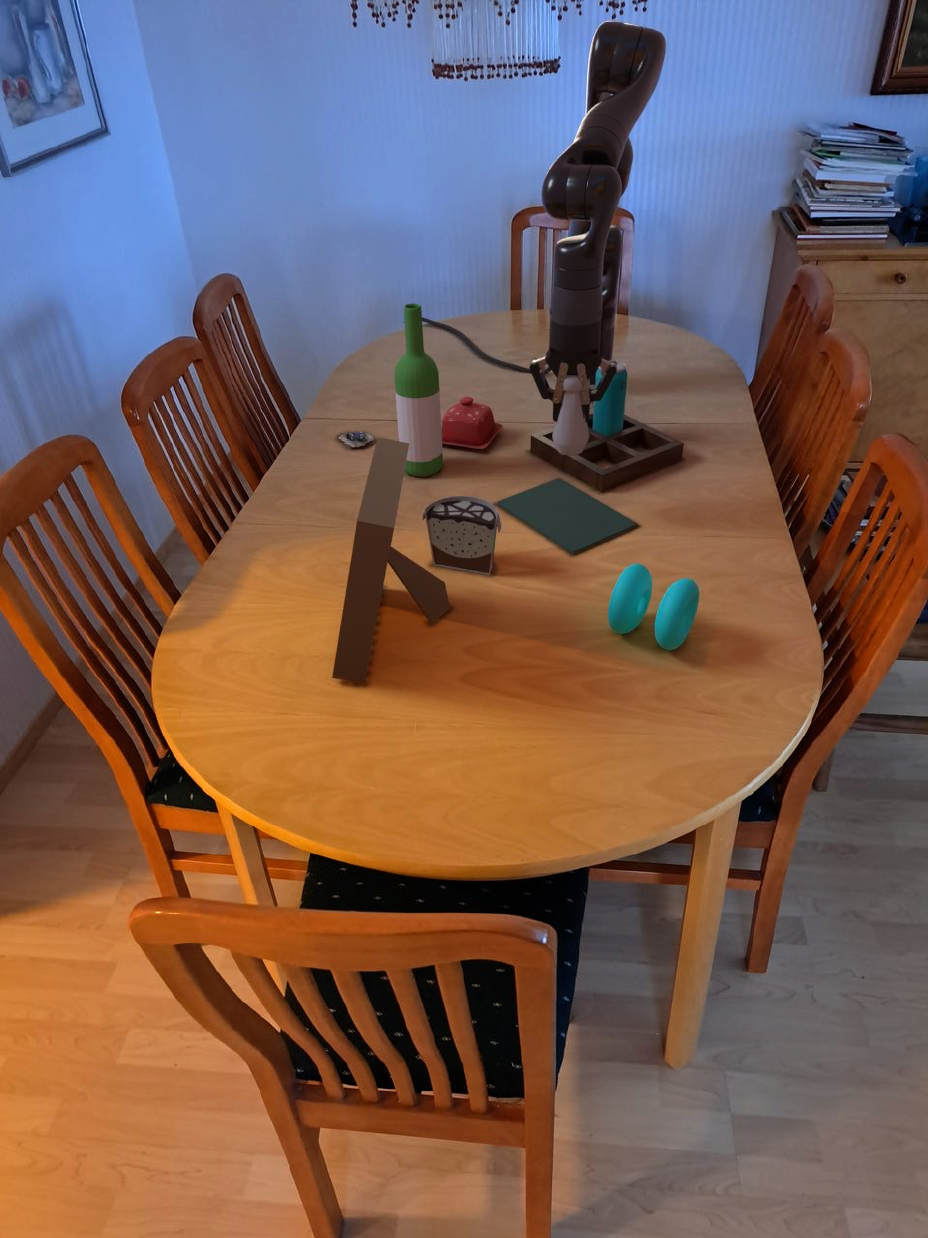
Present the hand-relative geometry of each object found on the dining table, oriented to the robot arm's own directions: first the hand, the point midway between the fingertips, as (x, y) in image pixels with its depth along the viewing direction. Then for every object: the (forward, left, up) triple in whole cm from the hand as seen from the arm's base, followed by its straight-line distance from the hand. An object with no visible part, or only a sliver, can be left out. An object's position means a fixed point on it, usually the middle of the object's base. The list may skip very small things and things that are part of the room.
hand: (570, 423), depth 142 cm
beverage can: (-17, +24, -17) cm, 34 cm away
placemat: (0, 0, -17) cm, 17 cm away
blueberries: (-47, -14, -17) cm, 52 cm away
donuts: (+32, -12, -17) cm, 38 cm away
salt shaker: (0, 0, -5) cm, 5 cm away
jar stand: (-12, +20, -17) cm, 29 cm away
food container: (+1, -21, -17) cm, 27 cm away
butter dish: (-34, +4, -17) cm, 38 cm away
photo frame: (+10, -40, -17) cm, 45 cm away
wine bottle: (-29, -10, -17) cm, 35 cm away
